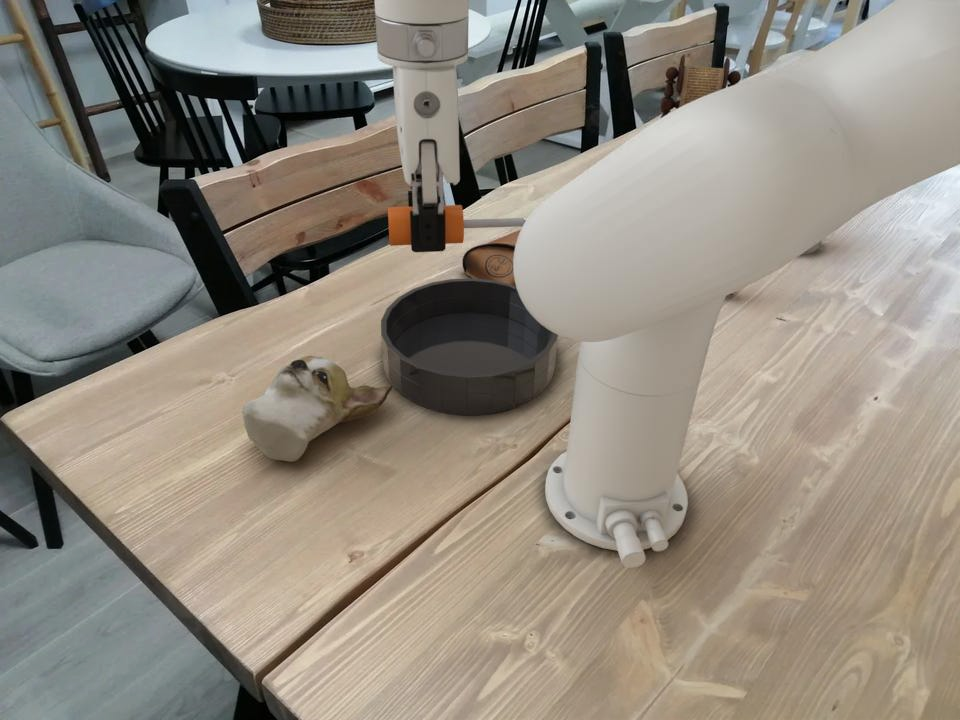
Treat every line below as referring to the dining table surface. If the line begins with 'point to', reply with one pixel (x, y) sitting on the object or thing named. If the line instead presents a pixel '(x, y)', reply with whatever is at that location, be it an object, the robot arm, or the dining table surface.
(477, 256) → the sunglasses case
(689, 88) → the manuscript holder
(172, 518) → the dining table surface
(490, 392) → the bowl
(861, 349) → the dining table surface
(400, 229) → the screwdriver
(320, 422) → the ceramic sculpture
